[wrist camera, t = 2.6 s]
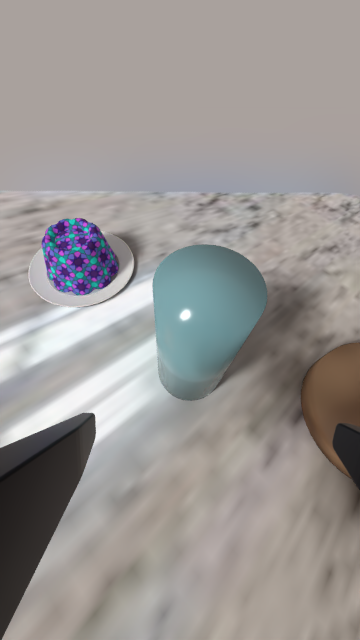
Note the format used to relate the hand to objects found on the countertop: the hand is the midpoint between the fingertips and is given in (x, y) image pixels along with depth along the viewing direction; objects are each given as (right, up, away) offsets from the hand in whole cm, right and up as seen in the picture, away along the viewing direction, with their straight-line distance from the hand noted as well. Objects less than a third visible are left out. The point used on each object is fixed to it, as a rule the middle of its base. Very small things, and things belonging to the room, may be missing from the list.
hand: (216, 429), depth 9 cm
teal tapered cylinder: (0, -1, +15) cm, 15 cm away
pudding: (-13, +10, +21) cm, 27 cm away
